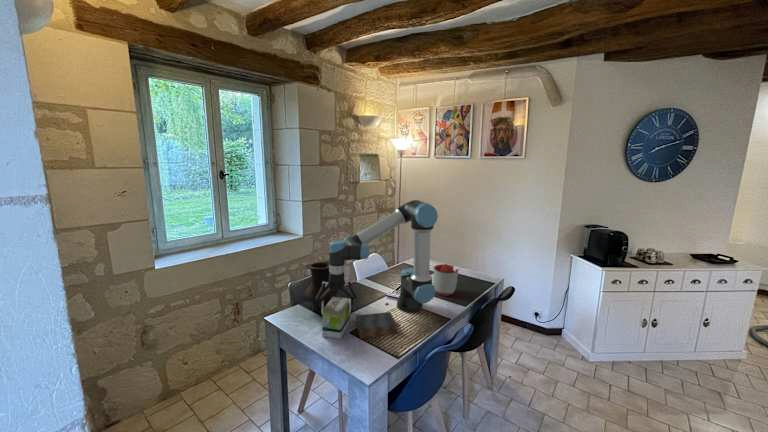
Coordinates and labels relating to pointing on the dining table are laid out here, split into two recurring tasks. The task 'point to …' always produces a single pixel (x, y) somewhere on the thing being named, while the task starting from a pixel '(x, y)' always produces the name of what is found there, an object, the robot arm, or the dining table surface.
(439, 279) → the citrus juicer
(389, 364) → the dining table surface
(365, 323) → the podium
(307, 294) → the jug
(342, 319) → the tea box
